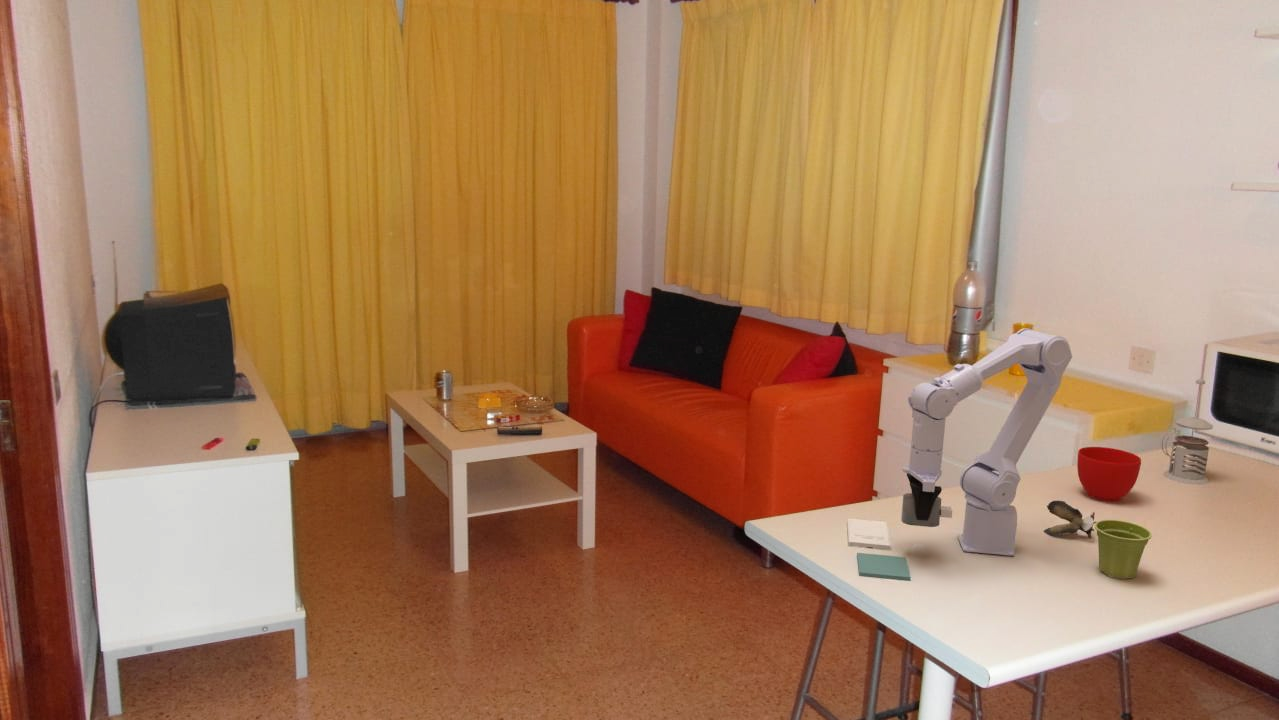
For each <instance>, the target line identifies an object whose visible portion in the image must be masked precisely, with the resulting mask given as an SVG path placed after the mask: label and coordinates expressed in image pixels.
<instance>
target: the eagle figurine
mask: <svg viewBox="0 0 1279 720" xmlns="http://www.w3.org/2000/svg"><path fill="white" fill-rule="evenodd" d="M1046 508H1047V510H1048V511H1049V513H1050V514H1052V515H1054V516H1056V517H1057V518H1059V519H1062V520H1065V521H1067V522H1069V523H1064V524H1057V525H1054V526H1052V527H1047V528H1045V529H1043V533H1044V534H1047V535H1049V536H1059V535H1063V534H1070V535H1073V534H1077V532H1078V531H1081V532H1084V533H1085V534H1086V535H1087V537H1088V538H1089V539H1091V538H1092V531H1093V532H1095V531H1096V529H1094V528H1093V526H1094V525H1095V523H1096V522H1097V521H1095V514H1096V513H1095V511H1093V512H1092V514H1090V516H1088V517H1087V516H1086V517H1085V518H1084V519H1083V514H1082V512H1081V511H1080V510H1079V509H1078V508H1074V507H1072V506H1071V505H1069V504H1068V503H1067V502H1066V501H1063V500H1052V501H1050V502H1049V503H1048V505H1046Z"/></svg>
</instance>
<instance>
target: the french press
mask: <svg viewBox="0 0 1279 720" xmlns="http://www.w3.org/2000/svg"><path fill="white" fill-rule="evenodd" d="M1195 384H1196V385H1199V386H1198V392H1197V393H1198V394H1197V400H1196V406H1195V412H1194V416H1192V417H1191V416H1186V417H1182V418H1179V419H1176V420H1174V421H1175V422H1174V423H1175V425H1177V426H1179V427H1181V428H1185V429H1192V432H1191V435H1180V432H1181V431H1180V430H1179V429H1176V427H1173V428H1170V429H1168V430H1167V431H1166V432H1165V433H1164V435H1163V436H1162V440H1161V443H1160V444H1161V450H1162V453H1164V454H1165V456H1167V457H1169V458H1170V460H1169V466H1168V469H1167V470H1166V471H1164V473H1163V476H1164V477H1165V478H1167V479H1170V480H1172V481H1175V482H1179V483H1185V484H1189V485H1206V484H1208V483H1209V481H1210V480H1209V479H1208V478H1207V477H1206V470H1207V462H1208V458H1209V452H1210V451H1209V450H1210V447H1209V446H1208V444H1209V443H1210V442H1209V441H1208V440H1207V439H1204V438H1201V437H1198V436H1194V430H1196V431H1197V430H1201V431H1209V430H1212V429H1213V428H1214V425H1213V424H1211V423H1210V422H1209V421H1207V420H1205V419H1203V418H1200V417H1198V416H1196V415H1197V411H1198V404H1199V398H1200V397H1199V396H1200V390H1201V385H1205V384H1206V381H1205V379H1203V378H1198V379H1196V381H1195ZM1172 430H1173V431H1172ZM1171 431H1172V432H1171ZM1169 432H1171V433H1170V434H1169V435H1168V436H1167V438H1166V441H1165V445H1164V439H1165V437H1166V435H1167V434H1168V433H1169ZM1176 432H1177V433H1176ZM1173 433H1174V434H1175V435H1176V436H1175V437H1174V440H1176V441H1174V442H1172V447H1171V452H1170V453H1171V454H1169V453H1168V448H1167V445H1168V444H1167V443H1168V440H1169V438H1170V437H1171V436H1172V435H1173ZM1164 448H1165V450H1164Z"/></svg>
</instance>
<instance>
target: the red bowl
mask: <svg viewBox="0 0 1279 720" xmlns="http://www.w3.org/2000/svg"><path fill="white" fill-rule="evenodd" d="M1076 464H1077V475H1078V479H1079V482H1080V485H1081V486H1082V487H1083V489H1084V490H1085V492H1086V493H1087V495H1088V497H1091V498H1093V499H1095V500H1098V501H1101V502H1102V501H1103V502H1118V501H1120V500H1121V499H1122V498H1123V497H1125V496H1127V494H1128V493H1130V491H1131V490H1133V488H1134V486H1135V485H1136V483H1137V479H1138V478H1139V474H1140V470H1141V465H1142V459H1141V457H1140V456H1138V455H1137V454H1134V453H1132V452H1130V451H1125V450H1122V449H1117V448H1112V447H1105V446H1085V447H1082V448H1080V449H1079V450H1078V453H1077V463H1076Z"/></svg>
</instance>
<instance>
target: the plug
mask: <svg viewBox="0 0 1279 720" xmlns="http://www.w3.org/2000/svg"><path fill="white" fill-rule="evenodd" d="M941 518H948V519H950V518H951V519H952V518H953V509H952V507H951V506H943V505H942V498H941V497H940V496H938V497H937V498H936V500H935V502H934V505H933V507H932V511H931V514H930V517H929V519H928V521H925V520H917V518H916V513H915V501H914V495H913V493H912V492H910V493H905V494H903V495H902V506H901V520H900V522H902V523H903V524H905V525H908V526H913V527H927V528H936V527H939V526H940V519H941Z"/></svg>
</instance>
